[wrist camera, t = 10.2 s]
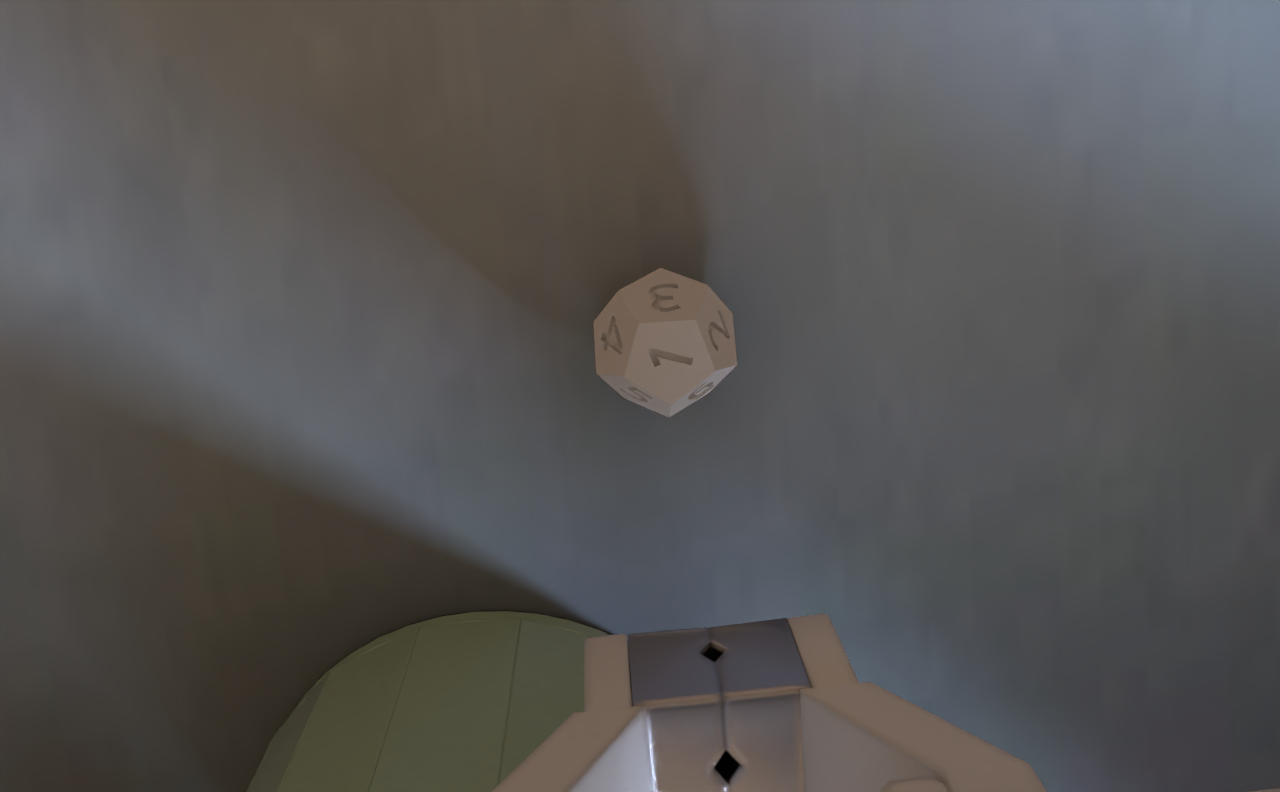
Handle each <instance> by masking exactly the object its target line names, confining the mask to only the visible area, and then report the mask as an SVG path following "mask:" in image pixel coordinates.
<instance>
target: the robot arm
mask: <svg viewBox="0 0 1280 792" xmlns="http://www.w3.org/2000/svg"><path fill="white" fill-rule="evenodd" d="M628 649H629V653H628ZM492 792H1047V791H1046V790H1045V788H1044V786H1043V785H1042V783H1041V782H1040V780H1039V779H1038V777H1037V775H1036V774H1035V772H1034V771H1033V769H1032V768H1031V766H1030V764H1028V763H1026V762H1024V761H1022V760H1021V759H1019V758H1017V757H1015V756H1013V755H1011V754H1009V753H1007V752H1005V751H1003V750H1001V749H999V748H997V747H995V746H993V745H992V744H990V743H988V742H986V741H984V740H982V739H980V738H978V737H976V736H974V735H972V734H970V733H968V732H966V731H964V730H962V729H961V728H959V727H957V726H955V725H953V724H951V723H949V722H947V721H945V720H943V719H941V718H939V717H937V716H935V715H933V714H931V713H930V712H928V711H926V710H924V709H922V708H920V707H918V706H916V705H914V704H912V703H910V702H908V701H906V700H904V699H902V698H900V697H899V696H897V695H895V694H893V693H891V692H889V691H887V690H885V689H883V688H881V687H879V686H877V685H875V684H873V683H871V682H866V683H859V681H858V679H857V677H856V674H855V672H854V670H853V668H852V666H851V663H850V661H849V659H848V657H847V655H846V652H845V650H844V648H843V646H842V644H841V641H840V639H839V637H838V635H837V633H836V630H835V628H834V626H833V624H832V622H831V619H830V617H829V616H828V615H827V614H825V613H820V614H813V615H806V616H799V617H792V618H782V619H774V620H766V621H758V622H751V623H743V624H735V625H727V626H719V627H711V628H706V627H705V628H693V629H681V630H668V631H656V632H644V633H632V634H628V644H627V636H626V635H625V634H615V635H607V636H599V637H591V638H586V640H585V643H584V712H576V713H573V714H572V715H571V716H570V717H569V718H567V719H566V720H565V721H564V722H563V723H562V724H561V725H560V726H559V727H558V728H557V729H556V730H555V731H554V732H553V733H552V734H551V735H550V736H549V737H548V738H547V739H546V740H545V741H544V742H543V743H542V744H541V745H540V746H539V747H537V748H536V749H535V750H534V751H533V752H532V753H531V754H530V755H529V756H528V757H527V758H526V759H525V760H524V761H523V762H522V763H521V764H520V765H519V766H518V767H517V768H516V769H515V770H514V771H513V772H512V773H511V774H510V775H508V776H507V777H506V778H505V779H504V780H503V781H502V782H501V783H500V784H499V785H498V786H497V787H496V788H495V789H494V790H493V791H492ZM1247 792H1280V788H1275V789H1266V790H1256V791H1247Z"/></svg>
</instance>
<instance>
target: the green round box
mask: <svg viewBox="0 0 1280 792" xmlns="http://www.w3.org/2000/svg"><path fill="white" fill-rule="evenodd" d="M607 635H609V634H607V633H605V632H603V631H601V630H598V629H595V628H592V627H589V626H586V625H583V624H580V623H577V622H574V621H571V620H566V619H562V618H557V617H552V616H547V615H542V614H536V613H524V612H512V611H487V612H469V613H462V614H455V615H448V616H442V617H437V618H434V619H430V620H426V621H423V622H419V623H415V624H412V625H408V626H406V627H403V628H401V629H398V630H396V631H394V632H391V633H389V634H386V635H384V636H381V637H379V638H377V639H375V640H374V641H372V642H370V643H368V644H367V645H365V646H363V647H361V648H359V649H358V650H356V651H354V652H352V653H351V654H350V655H348V656H347V657H346V658H344V659H343V660H342V661H340V662H339V663H338V664H336V665H335V666H334V667H332V668H331V669H330V670H328V671H327V672H326V673H325V674H324V675H323V676H322V677H321V678H320V679H319V680H318V681H317V682H316V683H315V684H314V685H313V686H312V687H311V688H310V689H309V690H308V691H307V692H306V693H305V695H304V696H303V698H302V699H301V700H300V702H299V703H298V704H297V706H296V707H295V708H294V710H293V711H292V712H291V714H290V715H289V717H288V719H287V721H286V722H285V723H284V724H283V725H282V726H281V728H280V729H279V730H278V731H277V732H276V733H275V735H274V736H273V738H272V740H271V742H270V744H269V746H268V748H267V750H266V752H265V754H264V757H263V759H262V761H261V763H260V765H259V767H258V769H257V771H256V773H255V775H254V777H253V779H252V782H251V784H250V786H249V788H248V790H247V792H492V791H493V790H494V789H495V788H496V787H497V786H498V785H499V784H500V783H501V782H502V781H503V780H504V779H505V778H506V777H507V776H508V775H510V774H511V773H512V772H513V771H514V770H515V769H516V768H517V767H518V766H519V765H520V764H521V763H522V762H523V761H524V760H525V759H526V758H527V757H528V756H529V755H530V754H531V753H532V752H533V751H534V750H535V749H536V748H537V747H539V746H540V745H541V744H542V743H543V742H544V741H545V740H546V739H547V738H548V737H549V736H550V735H551V734H552V733H553V732H554V731H555V730H556V729H557V728H558V727H559V726H560V725H561V724H562V723H563V722H564V721H565V720H566V719H567V718H569V717H570V716H571V715H572V714H573V713H576V712H584V643H585V640H586V638H591V637H599V636H607ZM627 644H628V643H627ZM628 653H629V649H628Z"/></svg>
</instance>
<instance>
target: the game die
mask: <svg viewBox="0 0 1280 792" xmlns="http://www.w3.org/2000/svg"><path fill="white" fill-rule="evenodd" d="M593 326H594V343H595V360H596V374H597V375H599V376H600V377H601V378H602V379H603V380H604V381H605V382H606V383H608V384H609V385H610V386H611V387H612V388H613V389H614V390H616V391H617V392H618V393H619V394H620V395H621V396H622V397H623V398H625V399H627V400H629V401H632V402H634V403H636V404H639V405H641V406H643V407H645V408H648V409H650V410H652V411H655V412H657V413H659V414H662V415H664V416H666V417H671V416H673V415H674V414H676V413H678V412H679V411H681V410H682V409H684V408H686V407H687V406H689V405H691V404H692V403H694V402H695V401H697V400H699V399H700V398H702V397H703V396H705V395H707V394H708V393H709V392H710V391H711V390H712V389H713V388H715V387H716V386H717V385H718V384H719V383H720V382H721V381H722V380H723V379H724V378H725V377H726V376H727V375H728V374H729V373H730V372H731V371H732V370H733V369H734V368H735V367H736V366H737V356H736V345H735V334H734V323H733V314H732V312H731V311H730V310H729V309H728V308H727V307H726V305H725V304H724V303H723V302H722V301H721V300H720V298H719V297H718V296H717V295H716V294H715V293H714V291H713V290H712V289H711V288H710V287H709V286H708V285H707V284H704V283H701V282H699V281H696V280H693V279H690V278H688V277H685V276H682V275H679V274H677V273H674V272H671V271H668V270H666V269H663V268H659V269H657V270H656V271H654V272H652V273H650V274H648V275H646V276H644V277H642V278H641V279H639V280H637V281H635V282H633V283H631V284H629V285H627V286H625V287H624V288H622V289H620V290H618V291H617V293H616V294H615V295H614V297H613V298H612V299H611V300H610V302H609V303H608V304H607V305H606V307H605V308H604V309H603V310H602V312H601V313H600V314H599V315H598V317H597V318H596V319H595V321H594V322H593Z"/></svg>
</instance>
